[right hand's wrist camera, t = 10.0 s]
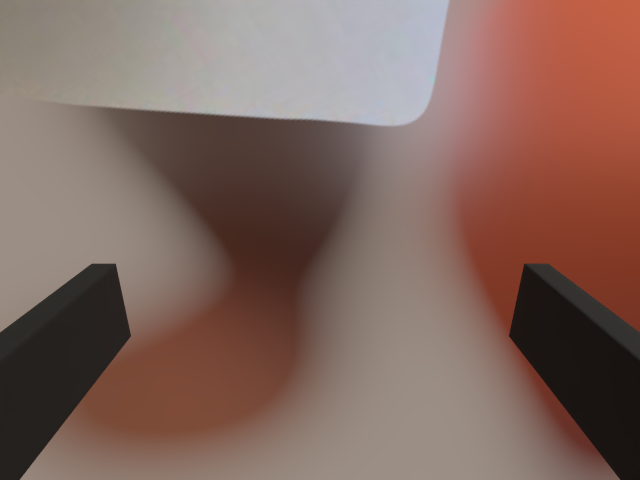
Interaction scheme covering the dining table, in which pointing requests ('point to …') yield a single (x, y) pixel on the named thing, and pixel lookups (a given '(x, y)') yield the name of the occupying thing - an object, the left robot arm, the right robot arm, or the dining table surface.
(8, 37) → the dining table surface
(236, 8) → the dining table surface
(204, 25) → the dining table surface
